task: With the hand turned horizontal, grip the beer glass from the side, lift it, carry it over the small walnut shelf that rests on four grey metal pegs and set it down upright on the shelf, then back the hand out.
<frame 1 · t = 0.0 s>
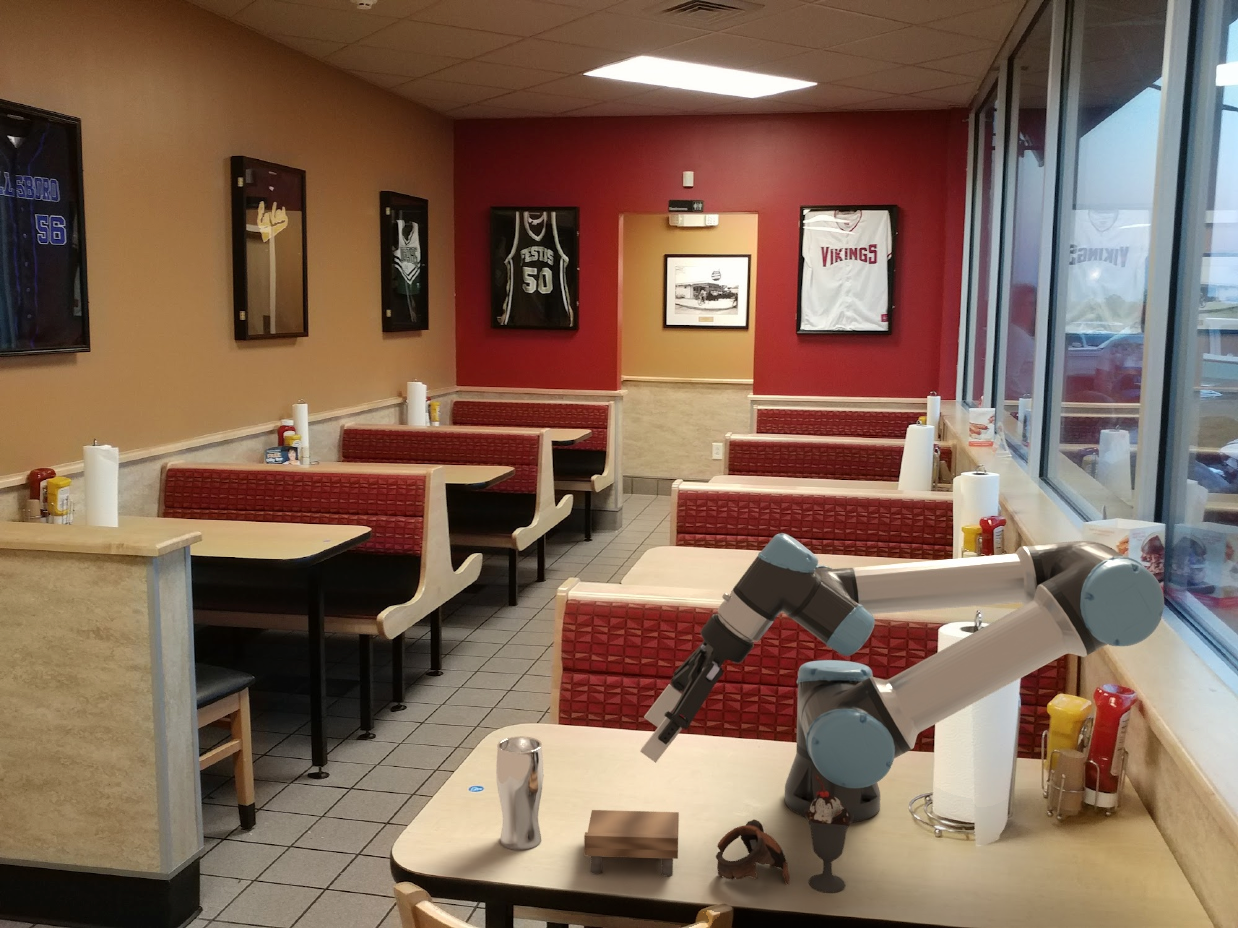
hand: (649, 738, 165), 15 cm above the table, tool tilted 35°, fingers open, 13 cm apart
sundae: (826, 884, 153), on the table
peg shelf: (633, 856, 160), on the table
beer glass: (520, 841, 165), on the table
broken clay pot: (753, 876, 155), on the table
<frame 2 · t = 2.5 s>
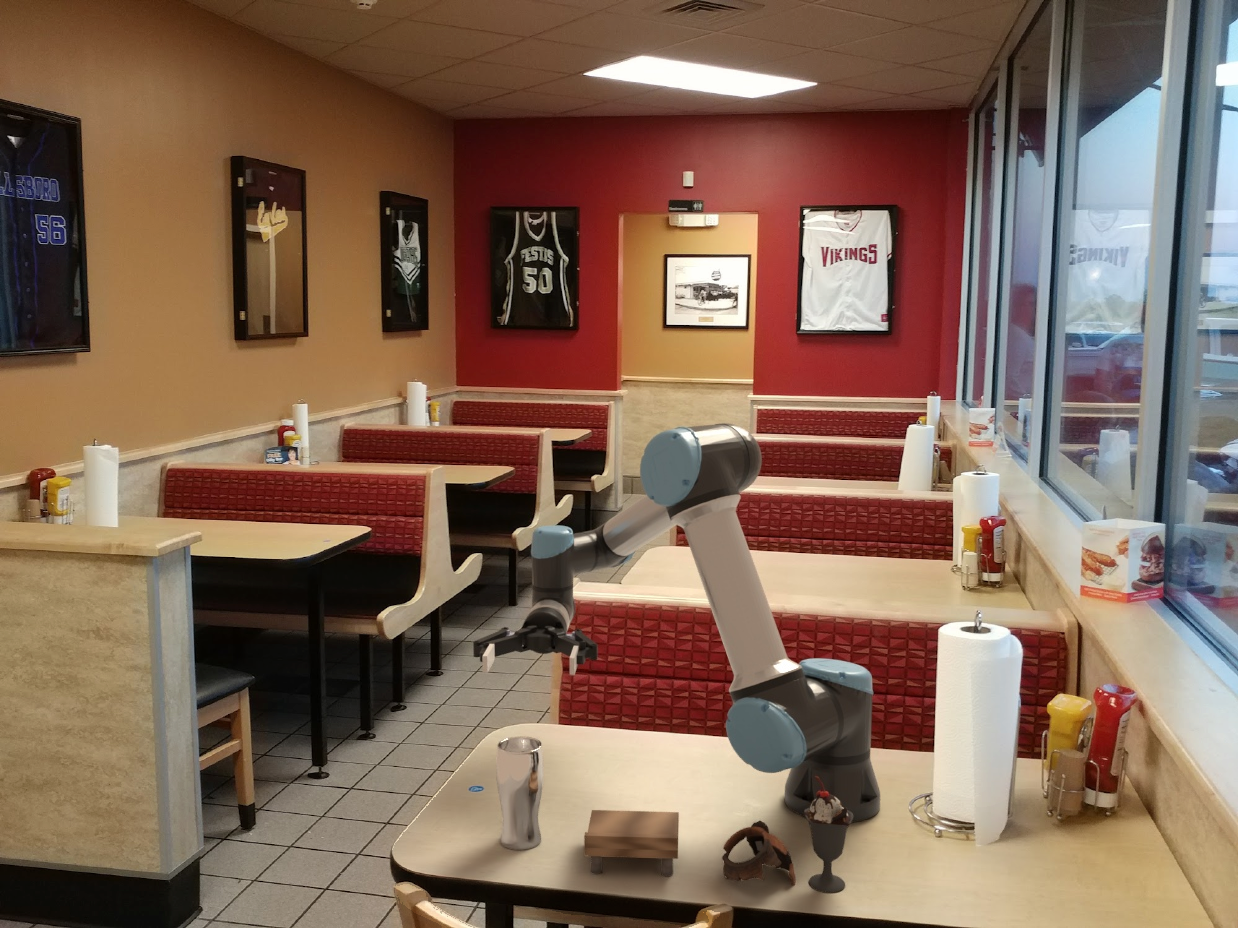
hand: (528, 665, 172), 24 cm above the table, tool horizontal, fingers open, 13 cm apart
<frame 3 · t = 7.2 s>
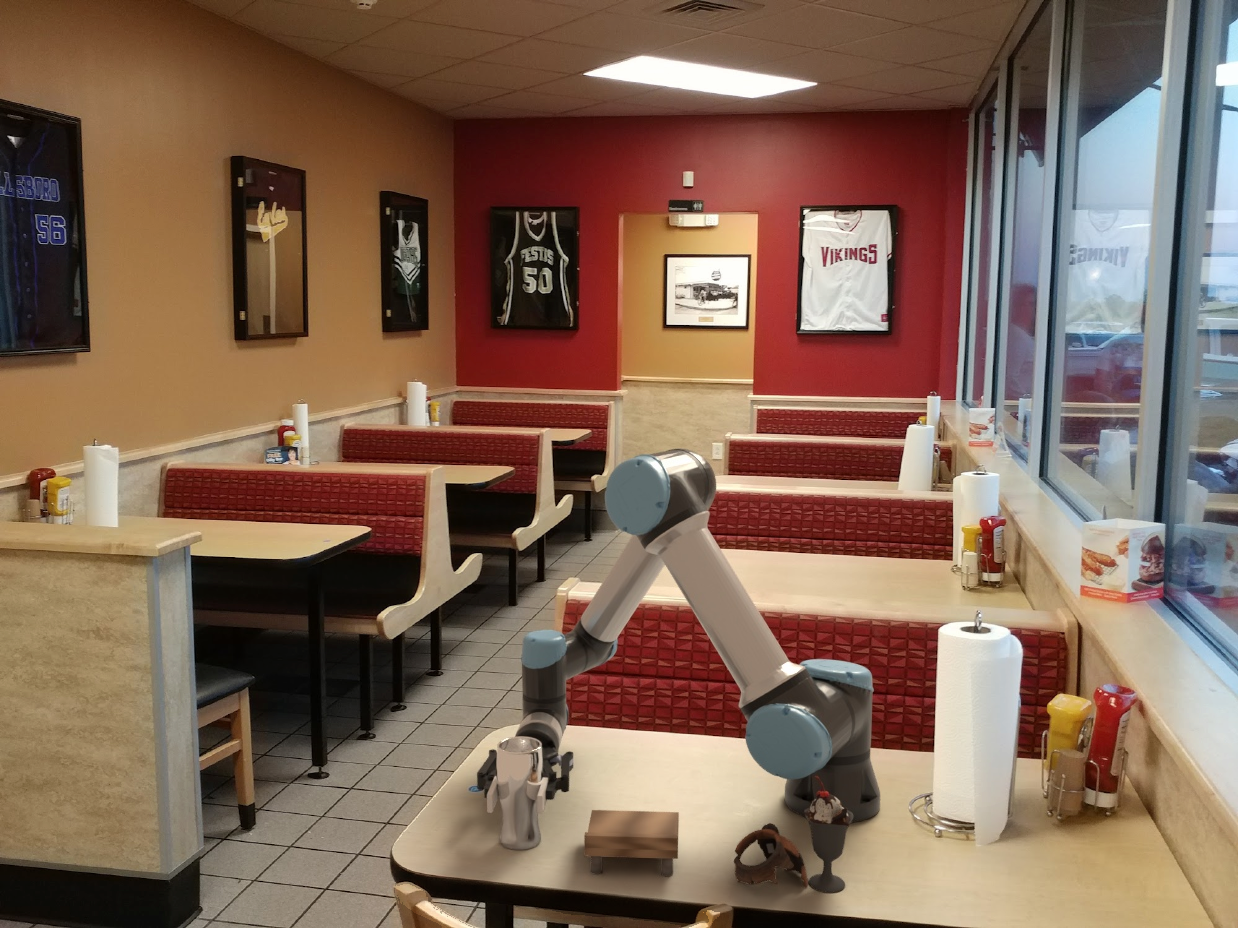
hand: (514, 804, 159), 8 cm above the table, tool horizontal, fingers closed on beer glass, 7 cm apart
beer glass: (520, 841, 165), on the table, touching gripper
broken clay pot: (771, 880, 154), on the table
everything else where it was.
when the fingers open (13 cm above the table, at t = 11.1 s): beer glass drops 1 cm, resting on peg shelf.
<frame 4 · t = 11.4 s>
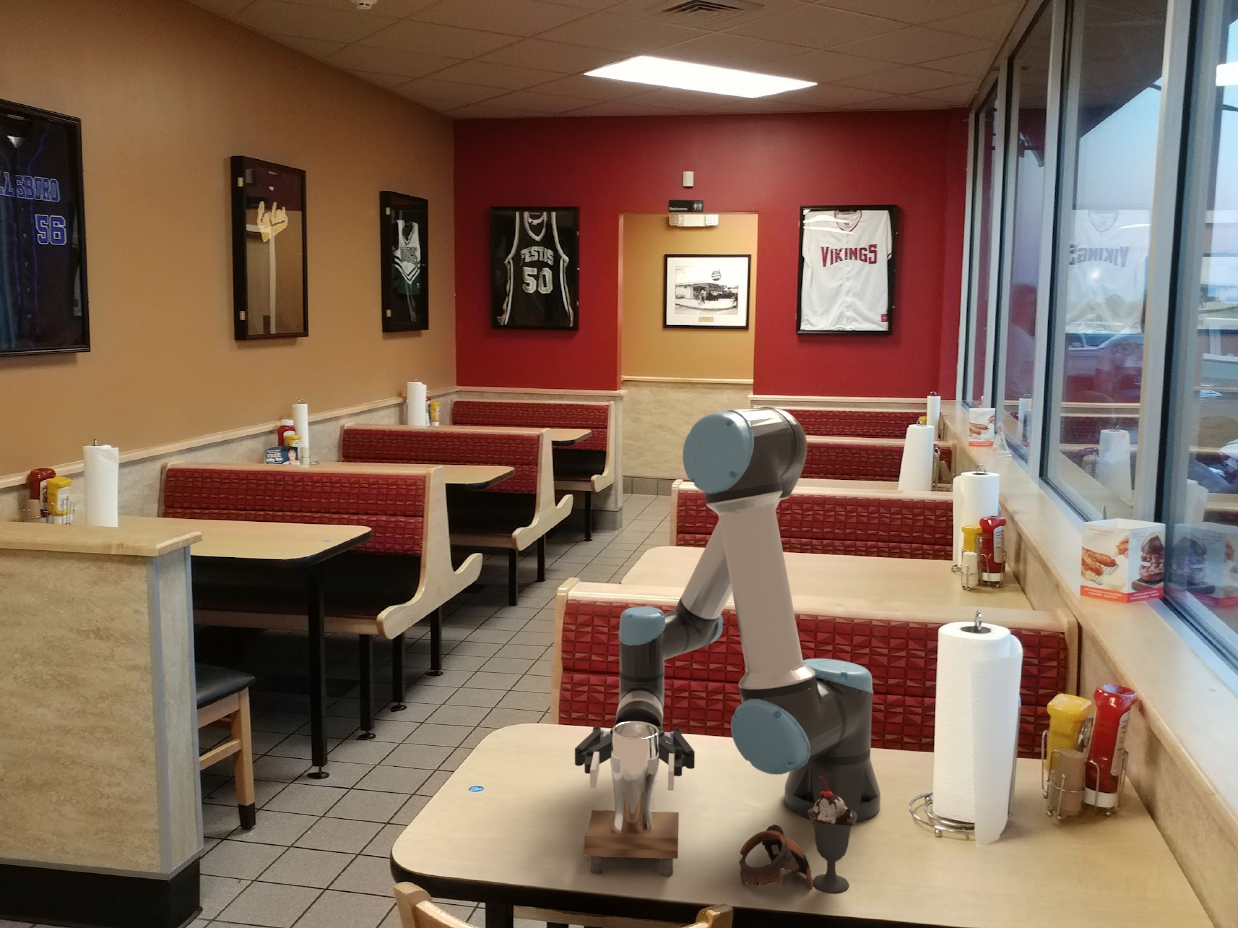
hand: (631, 779, 154), 13 cm above the table, tool horizontal, fingers open, 10 cm apart
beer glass: (632, 829, 160), point 4 cm above the table, touching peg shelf
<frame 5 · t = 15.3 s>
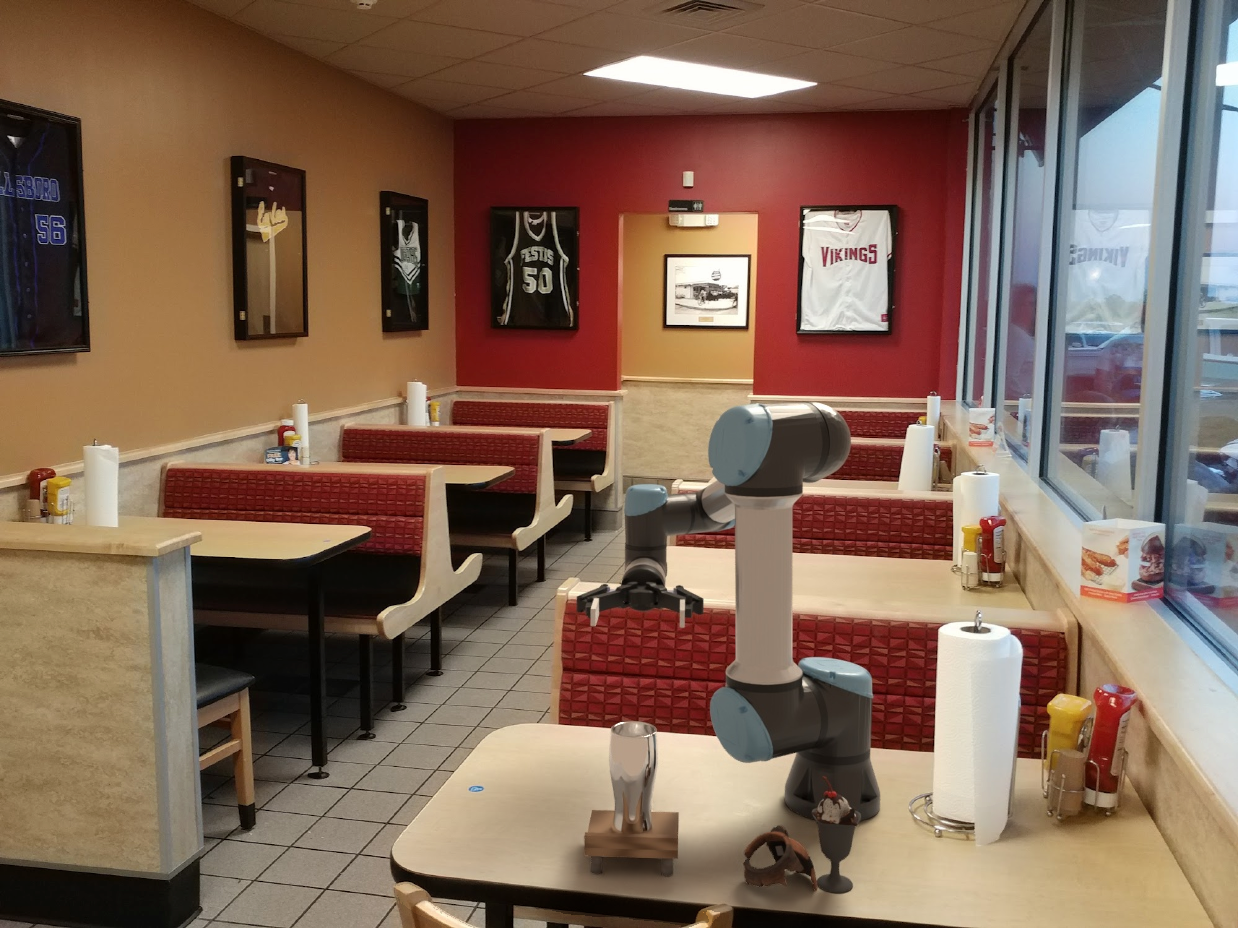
hand: (637, 618, 169), 32 cm above the table, tool horizontal, fingers open, 13 cm apart
at the end: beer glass inside the target area on the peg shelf (0.1 cm from its centre), point 4.0 cm above the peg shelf's base; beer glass tilted 0°; the gripper is holding nothing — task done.
